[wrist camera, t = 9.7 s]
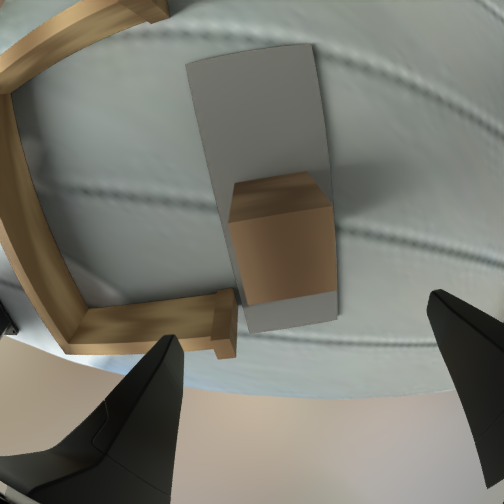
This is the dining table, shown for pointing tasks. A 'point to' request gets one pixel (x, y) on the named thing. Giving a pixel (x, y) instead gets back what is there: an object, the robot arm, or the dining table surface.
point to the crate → (37, 230)
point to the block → (283, 238)
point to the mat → (263, 147)
